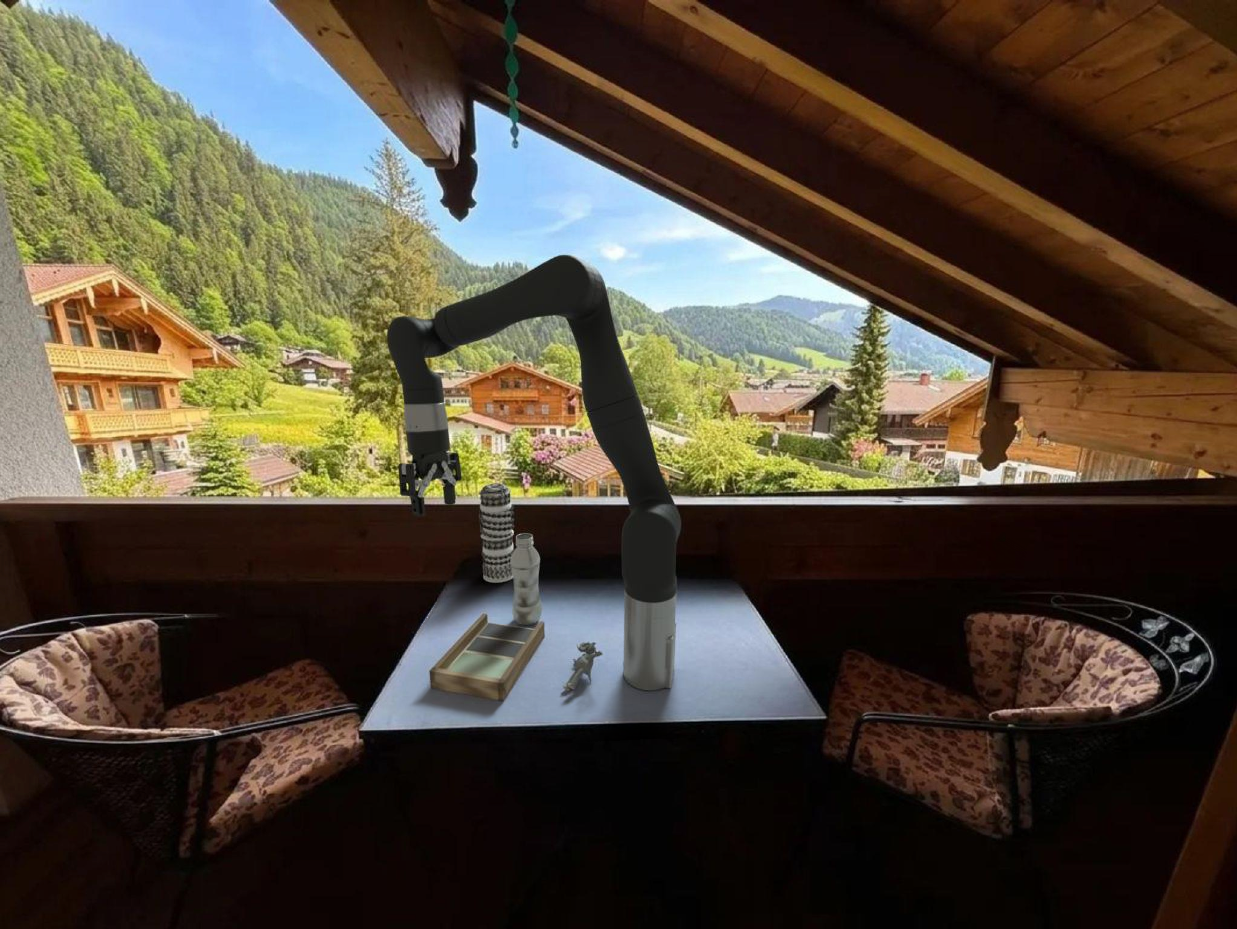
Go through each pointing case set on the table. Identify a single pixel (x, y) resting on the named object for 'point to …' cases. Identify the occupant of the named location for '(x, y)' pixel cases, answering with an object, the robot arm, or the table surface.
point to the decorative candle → (496, 532)
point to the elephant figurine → (583, 664)
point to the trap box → (486, 659)
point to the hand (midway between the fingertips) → (435, 509)
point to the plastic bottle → (526, 581)
